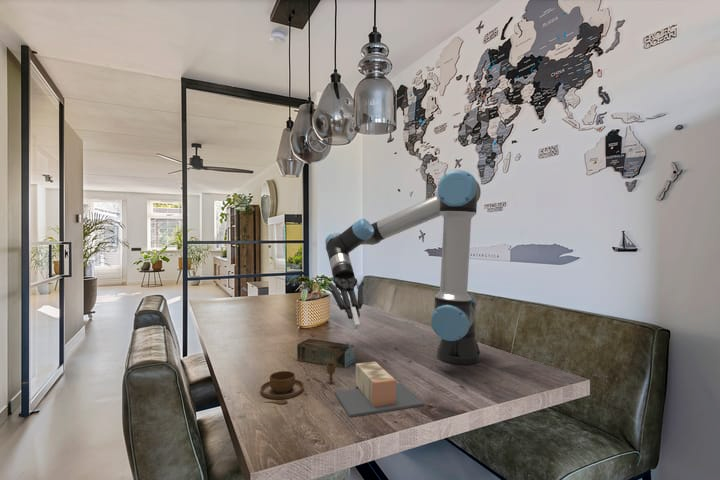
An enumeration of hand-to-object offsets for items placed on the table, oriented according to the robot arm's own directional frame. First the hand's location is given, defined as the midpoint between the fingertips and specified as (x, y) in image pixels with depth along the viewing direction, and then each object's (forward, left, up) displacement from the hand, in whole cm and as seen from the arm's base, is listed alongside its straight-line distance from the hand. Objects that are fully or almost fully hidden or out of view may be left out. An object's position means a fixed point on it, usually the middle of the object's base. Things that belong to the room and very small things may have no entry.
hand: (356, 326), depth 114 cm
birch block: (0, +8, -12) cm, 14 cm away
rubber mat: (0, +18, -15) cm, 24 cm away
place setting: (+20, +6, -16) cm, 26 cm away
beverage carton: (+6, -16, -16) cm, 23 cm away
